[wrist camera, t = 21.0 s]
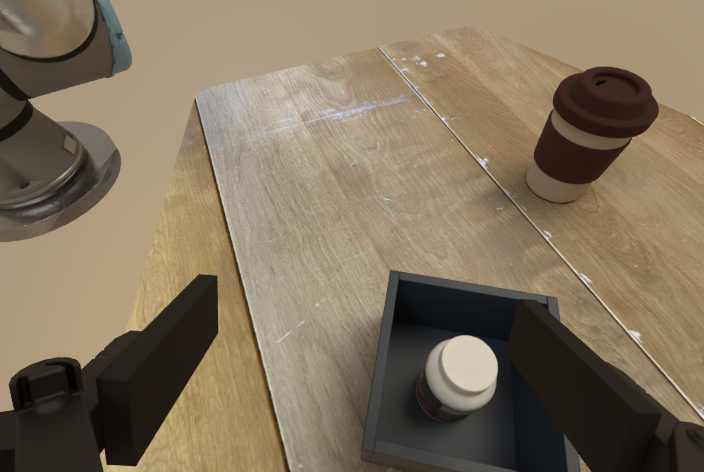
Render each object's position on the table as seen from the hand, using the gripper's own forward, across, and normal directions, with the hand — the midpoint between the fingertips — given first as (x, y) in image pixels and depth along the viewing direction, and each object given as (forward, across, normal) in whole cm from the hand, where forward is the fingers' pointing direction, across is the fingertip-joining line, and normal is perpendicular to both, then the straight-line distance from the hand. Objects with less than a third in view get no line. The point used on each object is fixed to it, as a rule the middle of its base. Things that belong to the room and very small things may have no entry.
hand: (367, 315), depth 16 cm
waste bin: (+14, +10, -16) cm, 23 cm away
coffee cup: (+35, +27, +3) cm, 44 cm away
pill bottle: (+14, +10, -15) cm, 23 cm away
